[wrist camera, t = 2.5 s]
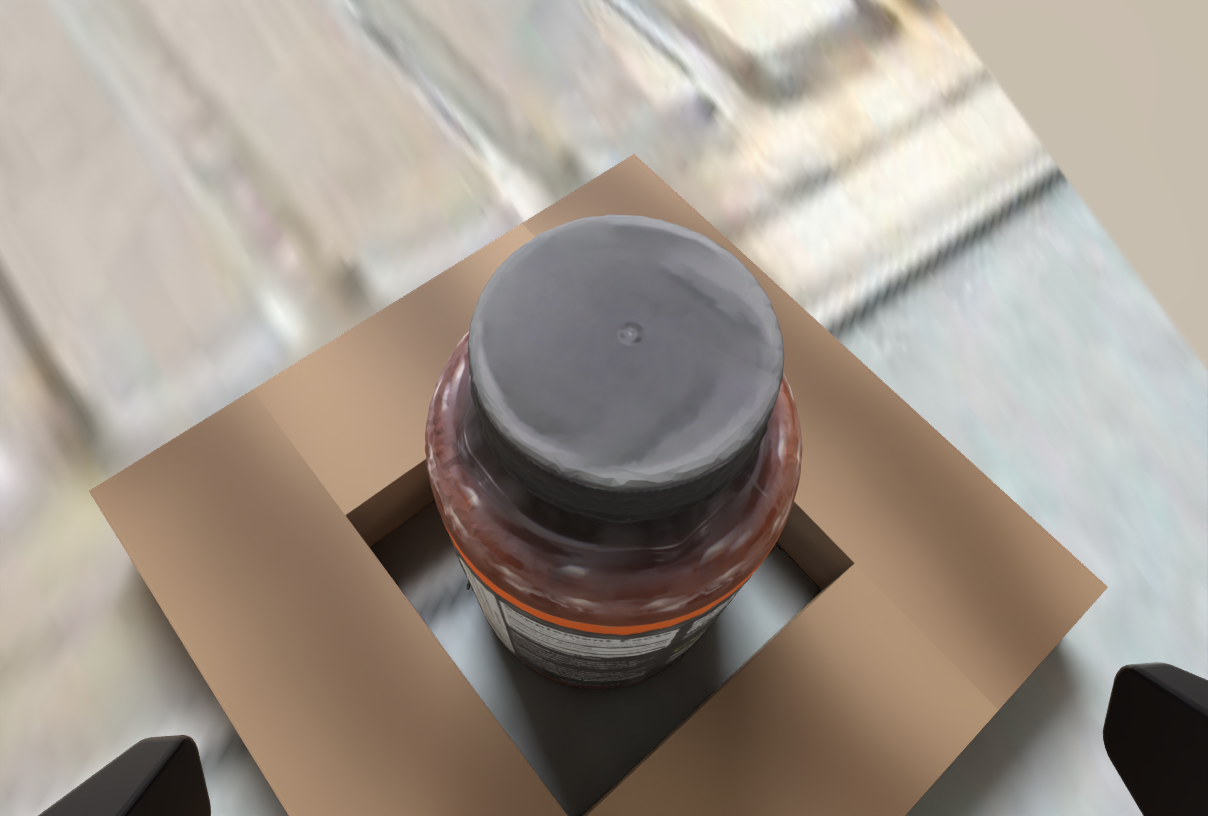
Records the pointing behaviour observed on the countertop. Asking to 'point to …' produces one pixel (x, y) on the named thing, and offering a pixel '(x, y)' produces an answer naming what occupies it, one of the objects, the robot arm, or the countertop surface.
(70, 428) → the countertop surface
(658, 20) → the countertop surface
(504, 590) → the supplement bottle
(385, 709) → the square wooden frame
